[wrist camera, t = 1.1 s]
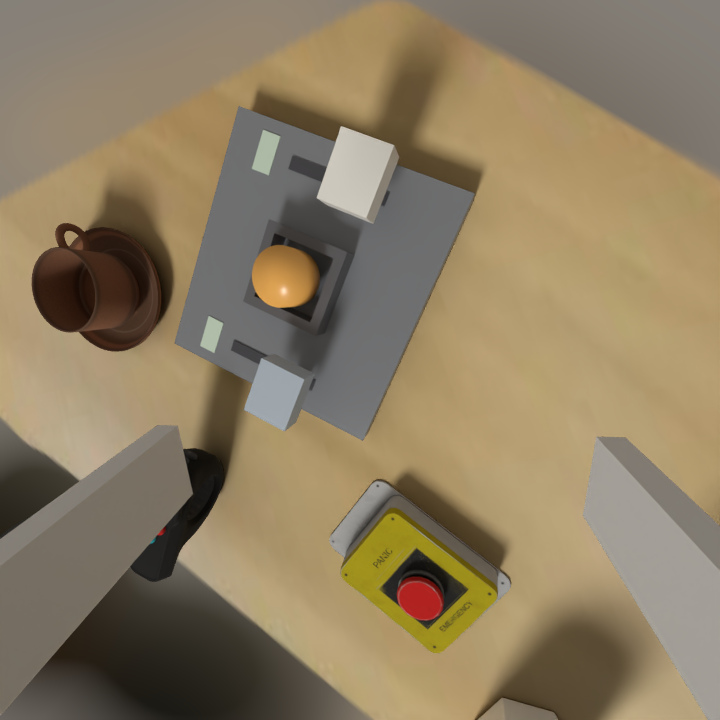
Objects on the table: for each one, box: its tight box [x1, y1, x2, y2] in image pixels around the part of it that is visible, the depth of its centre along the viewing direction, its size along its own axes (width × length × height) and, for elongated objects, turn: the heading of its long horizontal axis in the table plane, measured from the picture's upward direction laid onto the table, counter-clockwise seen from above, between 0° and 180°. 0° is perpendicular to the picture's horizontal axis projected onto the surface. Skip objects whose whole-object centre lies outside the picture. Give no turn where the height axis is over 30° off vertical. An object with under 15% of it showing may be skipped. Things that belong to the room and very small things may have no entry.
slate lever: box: [244, 354, 315, 431], centre depth 29 cm, size 4×4×5 cm
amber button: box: [252, 245, 320, 308], centre depth 27 cm, size 4×4×2 cm
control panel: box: [175, 106, 475, 440], centre depth 30 cm, size 20×21×4 cm
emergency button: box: [329, 480, 511, 653], centre depth 33 cm, size 9×4×15 cm
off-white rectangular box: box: [317, 126, 399, 224], centre depth 25 cm, size 4×4×5 cm
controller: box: [130, 448, 224, 582], centre depth 34 cm, size 4×12×10 cm, turn 162°
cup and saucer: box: [32, 223, 161, 351], centre depth 35 cm, size 12×12×6 cm
